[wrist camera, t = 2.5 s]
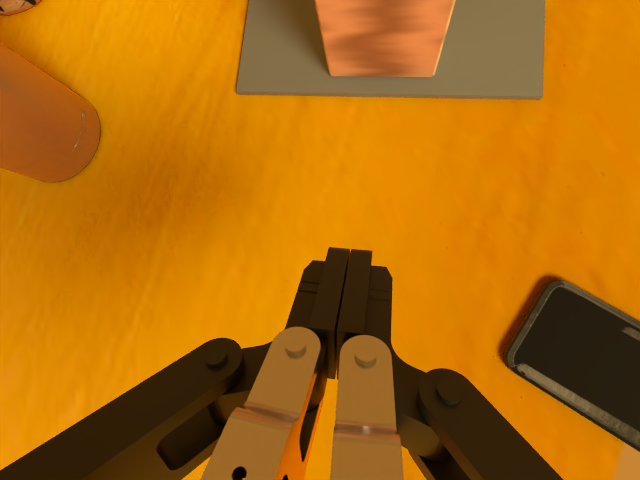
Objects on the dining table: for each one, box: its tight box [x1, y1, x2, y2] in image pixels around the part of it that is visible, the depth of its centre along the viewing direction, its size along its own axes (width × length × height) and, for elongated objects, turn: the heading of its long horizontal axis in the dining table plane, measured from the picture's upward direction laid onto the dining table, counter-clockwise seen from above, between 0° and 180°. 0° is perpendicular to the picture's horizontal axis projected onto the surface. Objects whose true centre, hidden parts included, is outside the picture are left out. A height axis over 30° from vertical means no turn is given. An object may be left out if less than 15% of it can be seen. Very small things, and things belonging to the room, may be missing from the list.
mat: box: [236, 0, 545, 100], centre depth 32 cm, size 26×16×1 cm, turn 84°
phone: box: [504, 280, 640, 452], centre depth 25 cm, size 8×1×15 cm
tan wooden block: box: [315, 0, 456, 77], centre depth 25 cm, size 9×3×11 cm, turn 84°
